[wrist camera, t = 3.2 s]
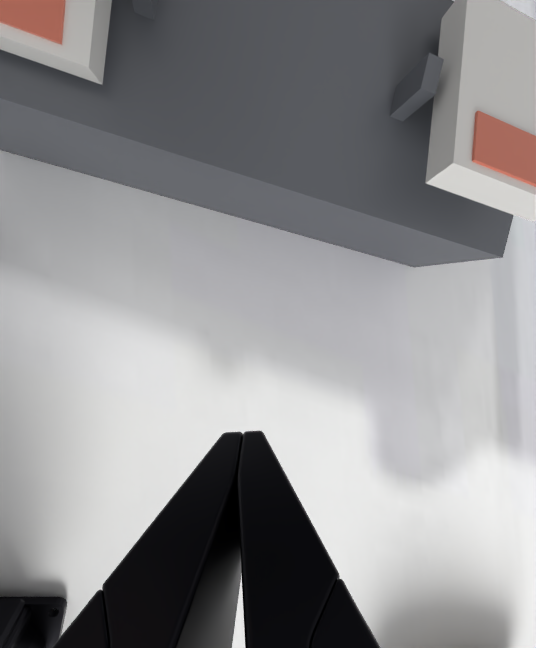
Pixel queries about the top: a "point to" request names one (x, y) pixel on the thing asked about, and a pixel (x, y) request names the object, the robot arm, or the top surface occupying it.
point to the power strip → (265, 119)
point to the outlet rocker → (486, 107)
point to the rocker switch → (58, 34)
